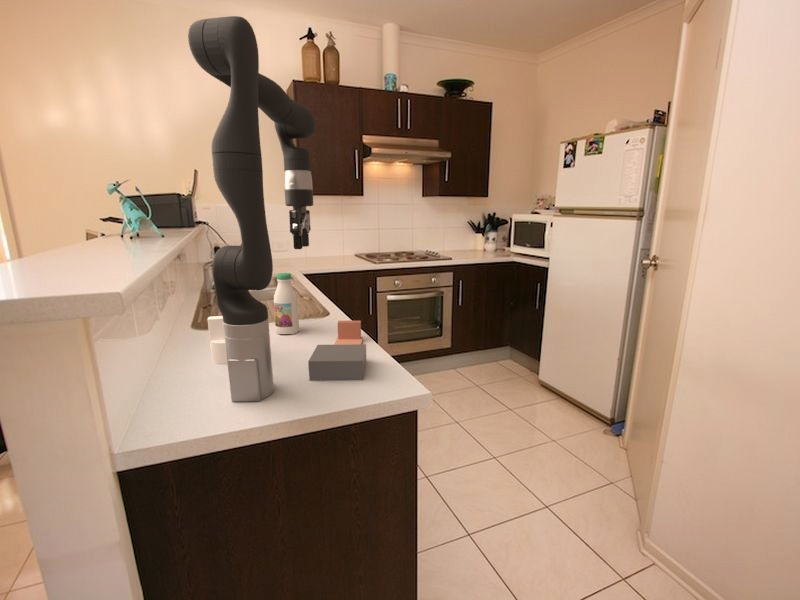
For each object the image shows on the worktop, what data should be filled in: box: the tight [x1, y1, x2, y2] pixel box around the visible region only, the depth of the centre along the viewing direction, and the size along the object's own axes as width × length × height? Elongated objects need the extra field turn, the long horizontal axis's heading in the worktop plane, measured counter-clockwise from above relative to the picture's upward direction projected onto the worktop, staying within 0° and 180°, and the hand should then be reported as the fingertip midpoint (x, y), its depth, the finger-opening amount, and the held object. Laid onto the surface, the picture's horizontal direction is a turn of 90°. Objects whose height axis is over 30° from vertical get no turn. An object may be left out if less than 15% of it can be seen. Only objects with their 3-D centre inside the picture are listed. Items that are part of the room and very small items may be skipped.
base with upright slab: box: [207, 315, 228, 365], centre depth 112 cm, size 9×9×12 cm
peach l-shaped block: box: [333, 320, 364, 345], centre depth 119 cm, size 20×8×6 cm, turn 1°
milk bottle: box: [273, 272, 300, 335], centre depth 135 cm, size 8×8×20 cm
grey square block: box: [307, 344, 367, 381], centre depth 105 cm, size 13×13×5 cm
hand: (301, 247), depth 115 cm, fingers open, 8 cm apart
